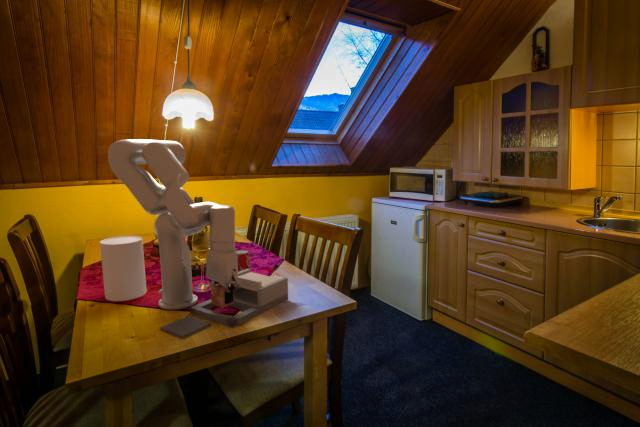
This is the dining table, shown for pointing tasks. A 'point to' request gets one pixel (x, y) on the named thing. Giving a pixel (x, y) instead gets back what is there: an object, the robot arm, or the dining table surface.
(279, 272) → the dining table surface
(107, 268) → the canister
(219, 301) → the block
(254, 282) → the sliding lid
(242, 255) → the soda can
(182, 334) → the mat
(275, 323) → the dining table surface
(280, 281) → the gray box frame
